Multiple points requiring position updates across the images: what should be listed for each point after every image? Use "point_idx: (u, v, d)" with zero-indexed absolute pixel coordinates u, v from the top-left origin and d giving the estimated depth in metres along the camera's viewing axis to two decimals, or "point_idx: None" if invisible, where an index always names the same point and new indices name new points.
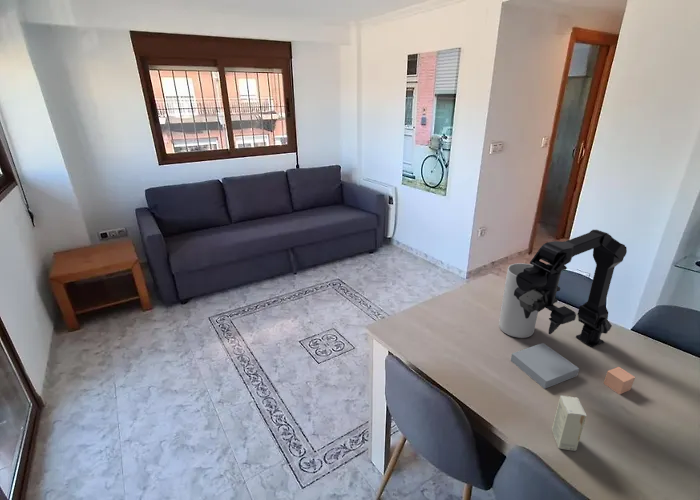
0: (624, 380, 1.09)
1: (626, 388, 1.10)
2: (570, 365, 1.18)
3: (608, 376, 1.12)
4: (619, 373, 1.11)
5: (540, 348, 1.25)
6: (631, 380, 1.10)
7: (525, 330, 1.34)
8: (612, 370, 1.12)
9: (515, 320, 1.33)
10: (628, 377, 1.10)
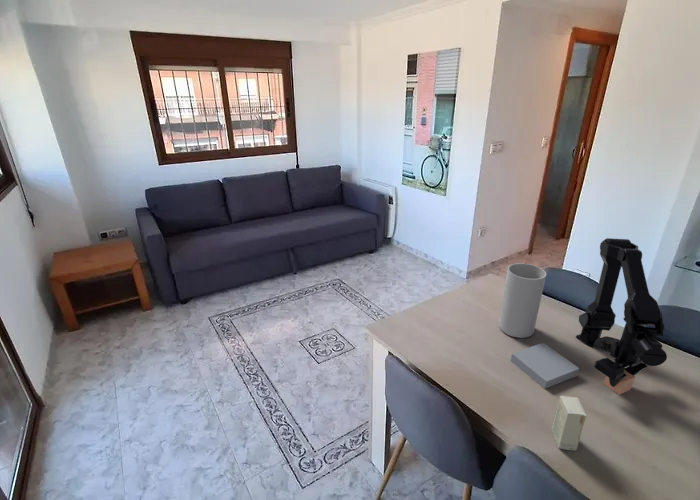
0: (624, 380, 1.09)
1: (626, 388, 1.10)
2: (570, 365, 1.18)
3: None
4: None
5: (540, 348, 1.25)
6: (631, 380, 1.10)
7: (525, 330, 1.34)
8: None
9: (515, 320, 1.33)
10: (628, 377, 1.10)
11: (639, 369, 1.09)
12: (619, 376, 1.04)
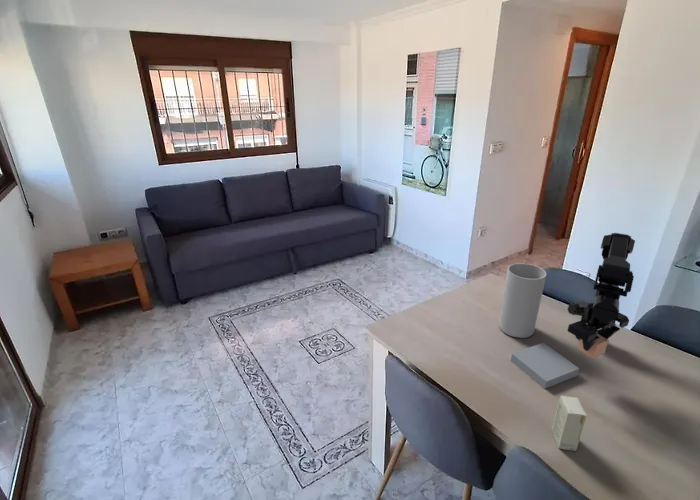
0: (597, 343, 1.08)
1: (599, 352, 1.09)
2: (570, 365, 1.18)
3: None
4: None
5: (540, 348, 1.25)
6: (605, 343, 1.09)
7: (525, 330, 1.34)
8: None
9: (515, 320, 1.33)
10: (602, 340, 1.09)
11: (612, 332, 1.08)
12: (591, 338, 1.03)
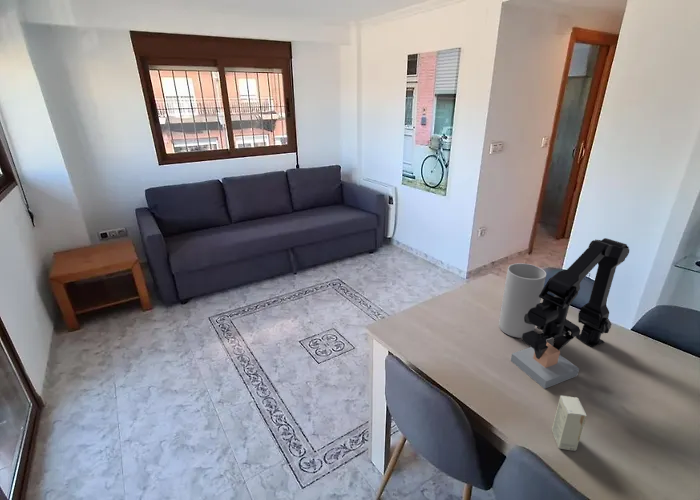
0: (549, 354, 1.15)
1: (551, 362, 1.17)
2: (570, 365, 1.18)
3: None
4: None
5: None
6: (556, 354, 1.16)
7: (525, 330, 1.34)
8: None
9: (515, 320, 1.33)
10: (553, 351, 1.16)
11: (566, 340, 1.16)
12: (542, 346, 1.11)
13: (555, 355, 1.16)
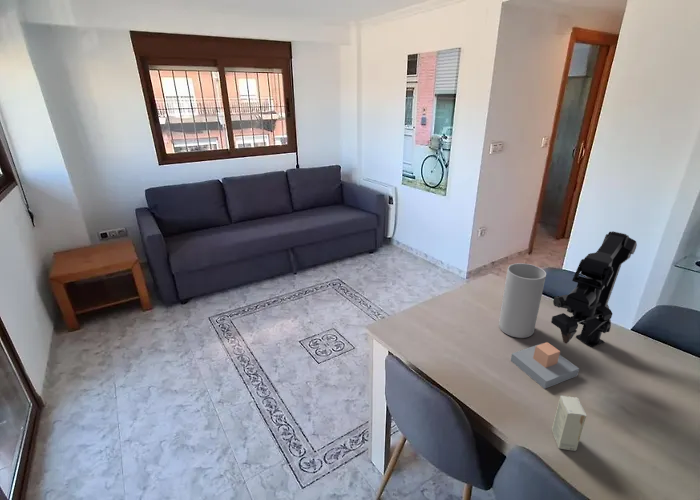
0: (549, 354, 1.15)
1: (551, 362, 1.17)
2: (570, 365, 1.18)
3: (536, 350, 1.19)
4: (546, 348, 1.18)
5: None
6: (556, 354, 1.16)
7: (525, 330, 1.34)
8: (540, 345, 1.19)
9: (515, 320, 1.33)
10: (553, 351, 1.16)
11: (599, 323, 1.13)
12: (573, 329, 1.08)
13: (555, 355, 1.16)
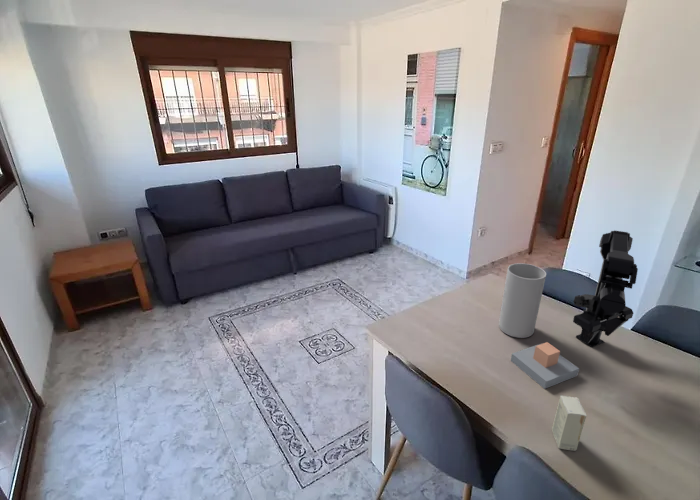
0: (549, 354, 1.15)
1: (551, 362, 1.17)
2: (570, 365, 1.18)
3: (536, 350, 1.19)
4: (546, 348, 1.18)
5: None
6: (556, 354, 1.16)
7: (525, 330, 1.34)
8: (540, 345, 1.19)
9: (515, 320, 1.33)
10: (553, 351, 1.16)
11: (621, 322, 1.12)
12: (596, 328, 1.07)
13: (555, 355, 1.16)
